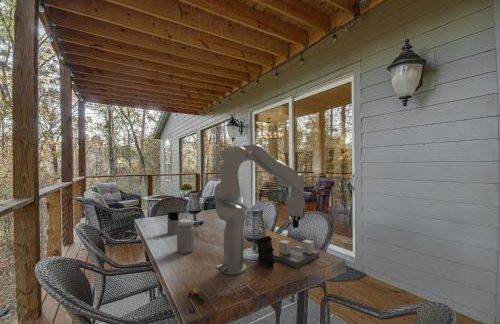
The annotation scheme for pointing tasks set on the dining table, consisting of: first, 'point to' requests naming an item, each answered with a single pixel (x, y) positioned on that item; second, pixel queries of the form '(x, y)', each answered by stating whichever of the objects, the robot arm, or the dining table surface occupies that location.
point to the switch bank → (295, 257)
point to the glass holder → (173, 223)
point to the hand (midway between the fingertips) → (295, 227)
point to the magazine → (265, 252)
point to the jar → (185, 236)
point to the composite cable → (196, 296)
